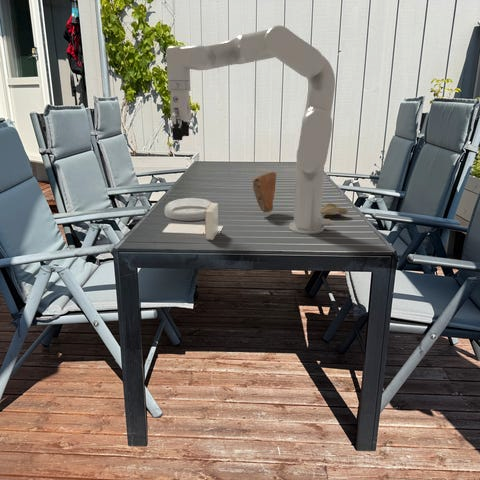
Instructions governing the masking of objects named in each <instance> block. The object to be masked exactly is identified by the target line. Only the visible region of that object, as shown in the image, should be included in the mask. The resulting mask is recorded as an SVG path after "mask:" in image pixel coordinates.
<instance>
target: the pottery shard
mask: <svg viewBox="0 0 480 480" xmlns="http://www.w3.org/2000/svg"><path fill="white" fill-rule="evenodd" d="M336 213H339V214H343V215H346V214H349V211H348V210H347V209H346V208H345V207H337V205H336V204H334V203H328V204H327V203H326V204H325V205H324V206H323V207H322V208H321V215H333V214H336Z"/></svg>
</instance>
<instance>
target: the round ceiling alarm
mask: <svg viewBox="0 0 480 480" xmlns="http://www.w3.org/2000/svg"><path fill="white" fill-rule="evenodd" d="M210 203H213V202H212V201H210V200H208V199H204V198H199V197H198V198H197V197H185V198H179V199H175V200H172V201H170V202H168V203H167V204H166V205H165V207H164V215H165V217H166V218H168V219H172V220H174V221H182V222H183V221H184V222H186V221H187V222H188V221H189V222H190V221H201V220H205V211H206V209H207V208H208V206H209V205H210Z"/></svg>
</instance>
